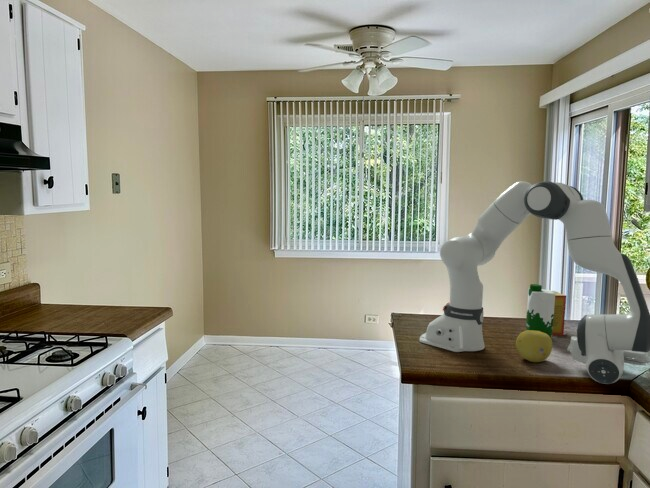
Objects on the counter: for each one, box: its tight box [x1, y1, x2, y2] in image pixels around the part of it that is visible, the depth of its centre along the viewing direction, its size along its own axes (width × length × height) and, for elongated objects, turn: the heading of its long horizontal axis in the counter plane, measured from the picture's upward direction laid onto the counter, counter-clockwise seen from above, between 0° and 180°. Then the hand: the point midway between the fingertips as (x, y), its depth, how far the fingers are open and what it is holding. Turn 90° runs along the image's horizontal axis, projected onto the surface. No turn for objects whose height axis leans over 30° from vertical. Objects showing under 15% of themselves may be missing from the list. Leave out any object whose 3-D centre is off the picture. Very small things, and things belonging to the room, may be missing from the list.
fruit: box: [515, 329, 553, 363], centre depth 146 cm, size 10×11×10 cm
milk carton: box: [525, 283, 555, 339], centre depth 171 cm, size 9×9×20 cm
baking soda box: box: [551, 290, 567, 336], centre depth 179 cm, size 10×6×16 cm
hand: (608, 343), depth 143 cm, fingers open, 7 cm apart
